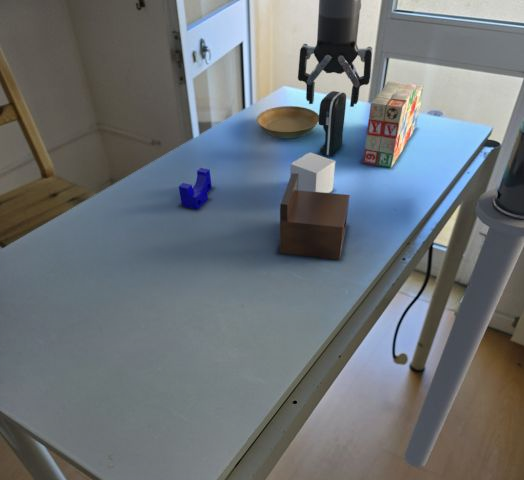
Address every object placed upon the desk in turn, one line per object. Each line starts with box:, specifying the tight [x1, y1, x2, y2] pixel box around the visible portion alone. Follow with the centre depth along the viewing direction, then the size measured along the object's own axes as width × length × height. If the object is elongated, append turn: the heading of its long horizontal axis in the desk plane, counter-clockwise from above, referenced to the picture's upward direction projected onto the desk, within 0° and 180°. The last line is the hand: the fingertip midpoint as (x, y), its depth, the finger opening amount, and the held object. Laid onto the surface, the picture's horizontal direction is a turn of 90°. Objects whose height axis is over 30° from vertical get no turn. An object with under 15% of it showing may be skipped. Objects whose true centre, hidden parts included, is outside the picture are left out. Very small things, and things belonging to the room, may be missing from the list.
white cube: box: [289, 151, 336, 193], centre depth 91 cm, size 6×6×6 cm
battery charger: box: [318, 90, 347, 156], centre depth 101 cm, size 7×4×11 cm, turn 152°
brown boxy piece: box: [279, 173, 350, 260], centre depth 79 cm, size 10×10×9 cm
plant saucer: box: [256, 105, 319, 139], centre depth 112 cm, size 15×15×3 cm
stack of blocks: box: [362, 81, 424, 169], centre depth 101 cm, size 21×6×12 cm, turn 154°
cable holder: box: [178, 167, 213, 211], centre depth 91 cm, size 8×4×4 cm, turn 154°
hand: (331, 104), depth 98 cm, fingers open, 8 cm apart
